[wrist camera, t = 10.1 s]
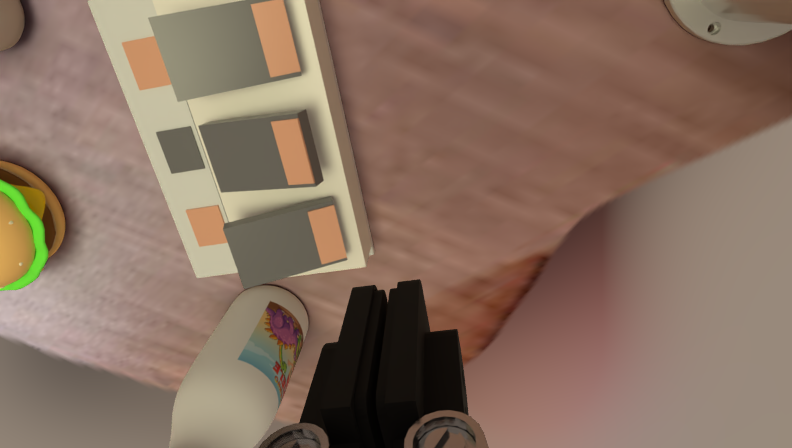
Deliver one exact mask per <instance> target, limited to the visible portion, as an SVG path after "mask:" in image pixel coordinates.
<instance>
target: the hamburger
mask: <svg viewBox="0 0 792 448" xmlns="http://www.w3.org/2000/svg"><path fill="white" fill-rule="evenodd" d="M64 234H65V217H64V213H63V210H62V207H61V205H60V203H59V201H58V199H57V198H56V196H55V194H54V193H53V192H52V191H51V189H50V188H49V187H48V186H47V185H46V184H45V183H44V182H43V181H42V180H41V179H40V178H38V177H37V176H36V175H34V174H33V173H32V172H30V171H28V170H26V169H24V168H23V167H20V166H18V165H15V164H13V163H9V162H5V161H0V291H2V290H18V289H21V288H23V287H25V286H27V285H28V284H30V283H31V282H33V281H34V280H35V279H36V278H38V276H39V274H40V272H41V271H43V270H44V268H43V267H44V265H45V263H46V262H47V259H48V258H49V257H51V256H52V255H53V254H54V253H55V252H56V251H57V250H58V248H59V247H60V245H61V243H62V241H63V238H64Z"/></svg>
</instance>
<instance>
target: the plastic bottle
mask: <svg viewBox="0 0 792 448" xmlns="http://www.w3.org/2000/svg"><path fill="white" fill-rule="evenodd" d="M24 25H25V16H24V11H23V7H22V5H21V2H20V0H0V51H3V50H6V49H9V48H11V47H12V46H14V45H15V44H16V43H17V42H18V40H19V39H20V37H21V35H22V32H23V30H24Z"/></svg>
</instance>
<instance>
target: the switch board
mask: <svg viewBox="0 0 792 448" xmlns="http://www.w3.org/2000/svg"><path fill="white" fill-rule="evenodd" d="M237 1H242V0H90V1H87V2H88V4H89V7H90V9H91V12H92V14H93V17H94V19H95V22H96V24H97V27H98V29H99V32H100V34H101V37H102V40H103V42H104V45H105V47H106V50H107V52H108V55H109V57H110V60H111V62H112V65H113V67H114V70H115V72H116V75H117V77H118V80H119V82H120V85H121V88H122V90H123V93H124V95H125V98H126V100H127V103H128V105H129V108H130V110H131V113H132V115H133V118H134V120H135V123H136V125H137V128H138V130H139V133H140V136H141V138H142V141H143V143H144V146H145V148H146V151H147V153H148V156H149V158H150V161H151V163H152V166H153V168H154V171H155V173H156V176H157V179H158V181H159V184H160V186H161V189H162V191H163V194H164V196H165V199H166V201H167V204H168V206H169V209H170V211H171V214H172V216H173V219H174V221H175V224H176V227H177V229H178V232H179V234H180V237H181V239H182V242H183V244H184V247H185V249H186V252H187V254H188V257H189V259H190V262H191V264H192V267H193V269H194V272H195V275H196V277H197V278H201V277H209V276H216V275H224V274H232V273H238V270H237V267H236V265H235V262H234V259H233V256H232V253H231V251H230V248H229V245H228V242H227V239H226V236H225V234H224V231H223V227H224V223H228V222H232V221H236V220H240V219H244V218H248V217H251V216H255V215H259V214H263V213H267V212H271V211H275V210H279V209H282V208H286V207H290V206H294V205H298V204H302V203H306V202H310V201H313V200H317V199H321V198H325V197H329V196H331V198H332V200H333V203H334V207H335V211H336V215H337V219H338V223H339V227H340V231H341V235H342V239H343V243H344V247H345V251H346V255H347V260H346V261H343V262H339V263H336V264H332V265H328V266H325V267H321V268H318V269H314V270H311V271H307V272H304V273H300V274H297V275H293V276H300V275H308V274H316V273H324V272H332V271H339V270H347V269H355V268H363V267H366V266H367V262H368V258H369V255H374V251H375V250H374V246H373V241H372V237H371V232H370V227H369V223H368V218H367V214H366V209H365V205H364V200H363V196H362V191H361V187H360V182H359V178H358V173H357V169H356V164H355V159H354V155H353V150H352V146H351V141H350V137H349V132H348V128H347V123H346V119H345V114H344V110H343V105H342V101H341V96H340V92H339V87H338V82H337V78H336V73H335V69H334V64H333V60H332V55H331V51H330V46H329V42H328V37H327V33H326V28H325V24H324V19H323V15H322V10H321V5H320V1H319V0H283V1H284V5H285V9H286V13H287V17H288V21H289V25H290V29H291V33H292V37H293V41H294V45H295V49H296V53H297V57H298V61H299V65H300V69H301V74H302V76H298V77H294V78H289V79H284V80H279V81H275V82H270V83H265V84H260V85H256V86H251V87H246V88H242V89H237V90H232V91H227V92H223V93H218V94H213V95H209V96H204V97H199V98H194V99H190V100H185V101H180V102H178V101H177V98H176V95H175V93H174V90H173V87H172V84H171V81H170V78H169V76H168V73H167V70H166V67H165V64H164V61H163V59H162V56H161V53H160V50H159V47H158V45H157V42H156V39H155V36H154V33H153V30H152V28H151V25H150V22H149V19H148V18H149V17H154V16H160V15H165V14H171V13H176V12H182V11H187V10H193V9H198V8H204V7H209V6H215V5H220V4H226V3H231V2H237ZM303 109H306V111H307V115H308V119H309V123H310V127H311V131H312V135H313V139H314V143H315V147H316V151H317V155H318V159H319V163H320V167H321V171H322V175H323V179H324V181H323V182H321V183H320V184H319V185H318V186H316V187H304V188H288V189H272V190H255V191H239V192H223V193H221V191H220V188H219V185H218V182H217V179H216V176H215V173H214V171H213V168H212V165H211V162H210V159H209V156H208V153H207V150H206V147H205V144H204V142H203V139H202V136H201V133H200V130H199V127H198V126H199V125H202V124H204V123H207V122H209V121H217V120H225V119H233V118H241V117H248V116H256V115H264V114H272V113H279V112H287V111H295V110H303ZM293 276H290V277H293Z"/></svg>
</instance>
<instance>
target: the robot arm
mask: <svg viewBox="0 0 792 448" xmlns="http://www.w3.org/2000/svg"><path fill="white" fill-rule="evenodd" d="M664 2H665V5H666V6H667V8H668V10H669V11H670V13H671V15H672V17H673V18H674V19H675V20H676V21H677V22H678V23H679V24H680V25H681V26H682V27H683V29H685V30H686V31H688V32H689V33H691V34H692V35H694V36H696V37H697V38H700V39H703V40H706V41H709V42H711V43H718V44H723V45H749V44H755V43H761V42H765V41H767V40H770V39H773V38H776V37H779V36H781V35H783V34H785V33H787V32H789V31H791V30H792V0H664ZM709 25H711V28H710V30H709V31H708V27H709ZM259 448H489V447H488V444H487V441H486V438H485V435H484V432H483V430H482V429H481V427H480V425H479V423H477V422H476V421H475V420H474V419H473V418H472V417H471V416H469V415H468V407H467V395H466V386H465V378H464V370H463V362H462V355H461V349H460V342H459V336H458V331H457V329H453V330H444V331H435V332H430V327H429V322H428V316H427V311H426V305H425V300H424V295H423V289H422V284H421V280H420V279H419V280H411V281H403V282H398V284H397V288H394V289H390V293H389V300H388V302H387V297H386V293H385V291H384V290H377V288H376V286H375V285H371V286H363V287H355V288H353V289H352V292H351V295H350V299H349V303H348V306H347V310H346V314H345V318H344V321H343V325H342V329H341V332H340V336H339V340H338V342H334V343H326V344H325V345H324V346H323V348H322V351H321V354H320V358H319V361H318V364H317V367H316V371H315V374H314V377H313V380H312V383H311V387H310V390H309V393H308V396H307V400H306V403H305V406H304V409H303V413H302V416H301V419H300V422H299V423H297V424H292V425H289V426H286V427H283V428H281V429H279V430H278V431H276V432H274V433H273V434H271V435H270V436H269V437H268V438H267V439H266V440H265V441H263V443H262V444H261V445H260V447H259Z"/></svg>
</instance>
